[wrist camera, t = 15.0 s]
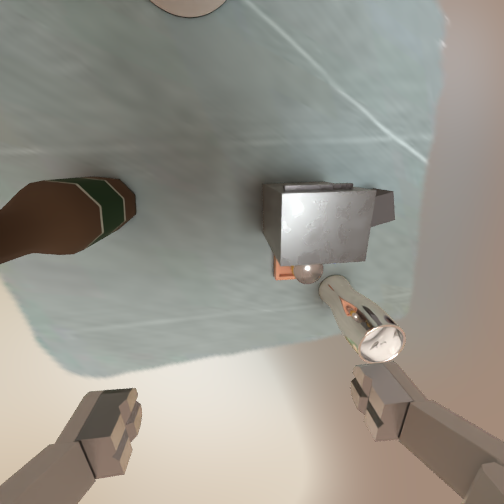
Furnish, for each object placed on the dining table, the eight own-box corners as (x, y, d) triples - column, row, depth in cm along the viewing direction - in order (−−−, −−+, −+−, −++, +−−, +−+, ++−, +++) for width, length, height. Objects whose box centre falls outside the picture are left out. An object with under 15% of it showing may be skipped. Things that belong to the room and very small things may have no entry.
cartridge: (284, 244, 39) (294, 258, 34) (311, 242, 40) (324, 255, 34) (284, 268, 41) (293, 285, 36) (309, 266, 41) (322, 283, 36)
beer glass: (358, 285, 45) (417, 339, 31) (333, 310, 46) (379, 373, 32) (334, 265, 43) (386, 314, 29) (308, 292, 44) (346, 351, 30)
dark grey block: (262, 180, 36) (282, 188, 23) (324, 178, 37) (377, 185, 24) (262, 235, 39) (280, 270, 26) (319, 232, 40) (364, 265, 27)
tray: (274, 233, 39) (276, 236, 38) (320, 231, 40) (324, 233, 38) (273, 275, 42) (275, 280, 41) (316, 272, 43) (320, 277, 41)
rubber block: (347, 196, 39) (364, 200, 34) (373, 188, 39) (393, 191, 34) (350, 220, 40) (367, 228, 35) (375, 213, 40) (394, 219, 35)
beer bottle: (100, 233, 37) (-100, 339, 14) (73, 183, 34) (-230, 219, 11) (147, 218, 37) (22, 303, 14) (124, 168, 34) (-78, 173, 11)
